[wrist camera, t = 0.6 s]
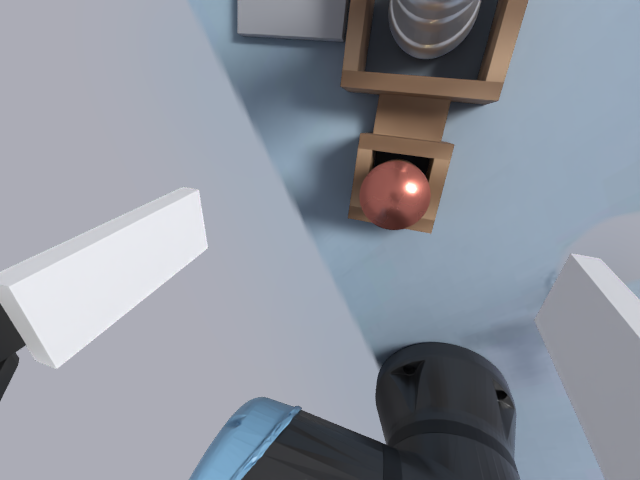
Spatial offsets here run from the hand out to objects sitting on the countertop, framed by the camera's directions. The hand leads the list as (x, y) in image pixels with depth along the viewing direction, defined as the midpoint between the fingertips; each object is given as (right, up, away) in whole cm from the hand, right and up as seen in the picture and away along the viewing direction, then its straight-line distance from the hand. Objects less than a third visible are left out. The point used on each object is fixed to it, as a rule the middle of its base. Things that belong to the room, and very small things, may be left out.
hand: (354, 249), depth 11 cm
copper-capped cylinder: (+6, +6, +16) cm, 18 cm away
